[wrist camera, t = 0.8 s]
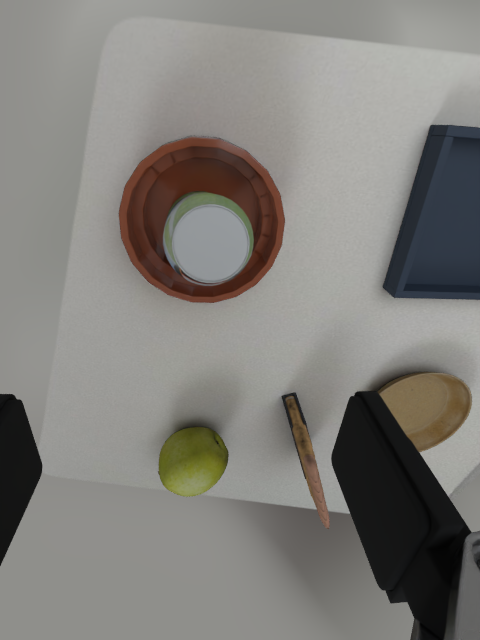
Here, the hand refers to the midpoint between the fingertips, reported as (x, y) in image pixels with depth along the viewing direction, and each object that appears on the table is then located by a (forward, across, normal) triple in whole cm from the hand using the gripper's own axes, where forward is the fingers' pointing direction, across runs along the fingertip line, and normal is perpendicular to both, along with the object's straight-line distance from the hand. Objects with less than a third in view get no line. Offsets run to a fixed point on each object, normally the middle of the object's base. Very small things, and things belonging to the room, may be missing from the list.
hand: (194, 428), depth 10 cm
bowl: (+26, 0, 0) cm, 26 cm away
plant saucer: (+25, -29, +24) cm, 45 cm away
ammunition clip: (+25, -14, +27) cm, 39 cm away
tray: (+26, -29, -1) cm, 39 cm away
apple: (+25, 0, +29) cm, 38 cm away
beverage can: (+26, 0, 0) cm, 26 cm away
